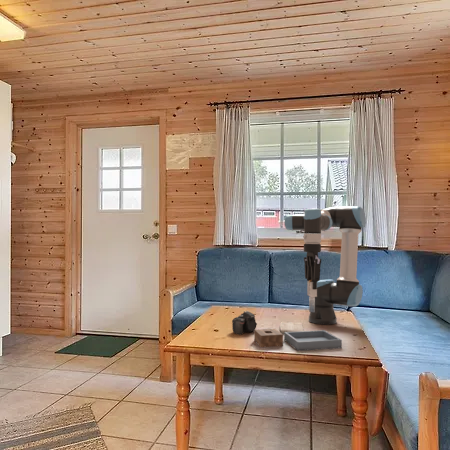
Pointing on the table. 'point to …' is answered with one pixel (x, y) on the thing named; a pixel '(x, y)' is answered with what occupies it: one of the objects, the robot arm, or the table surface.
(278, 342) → the block
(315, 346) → the tray
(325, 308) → the robot arm
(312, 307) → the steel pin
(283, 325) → the washcloth
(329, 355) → the table surface
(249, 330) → the camera
